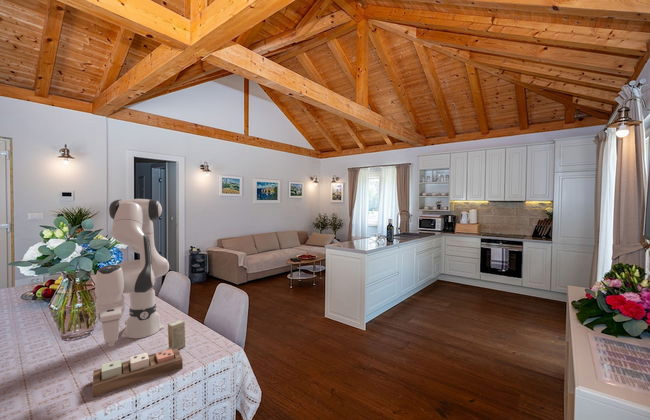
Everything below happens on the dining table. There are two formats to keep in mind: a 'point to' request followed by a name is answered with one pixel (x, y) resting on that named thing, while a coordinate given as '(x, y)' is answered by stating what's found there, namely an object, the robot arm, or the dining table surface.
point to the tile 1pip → (111, 369)
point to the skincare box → (176, 334)
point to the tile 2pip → (139, 361)
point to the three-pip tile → (164, 356)
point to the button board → (135, 374)
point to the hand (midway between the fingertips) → (111, 344)
